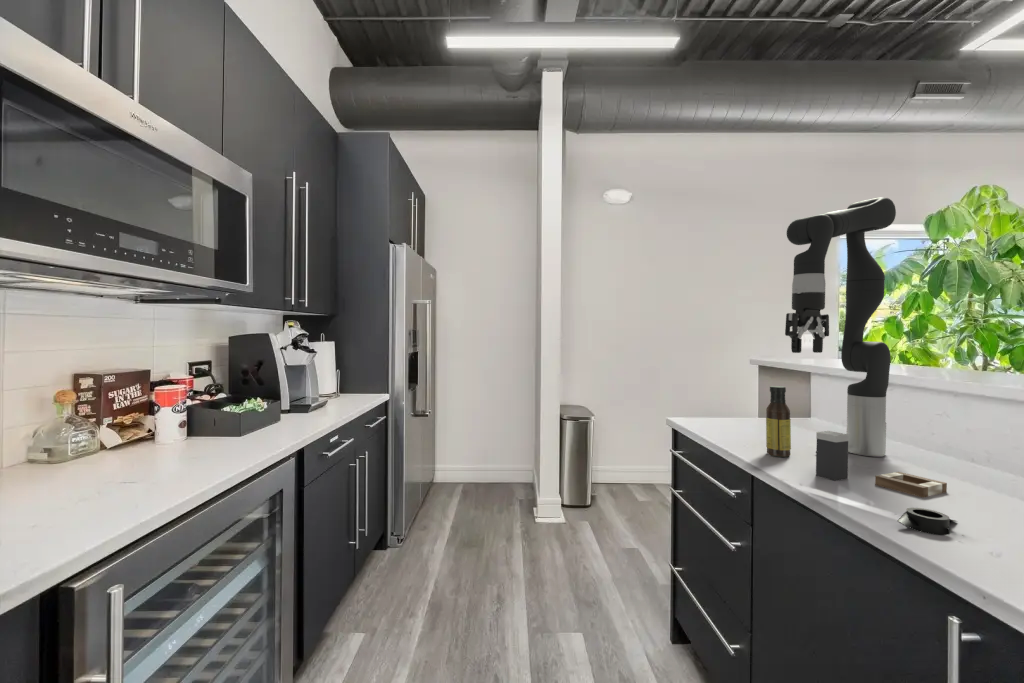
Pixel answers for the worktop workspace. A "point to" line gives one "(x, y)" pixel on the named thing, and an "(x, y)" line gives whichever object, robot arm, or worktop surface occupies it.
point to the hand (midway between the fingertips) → (807, 352)
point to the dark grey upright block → (832, 455)
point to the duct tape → (926, 521)
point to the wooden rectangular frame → (911, 484)
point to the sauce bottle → (778, 424)
